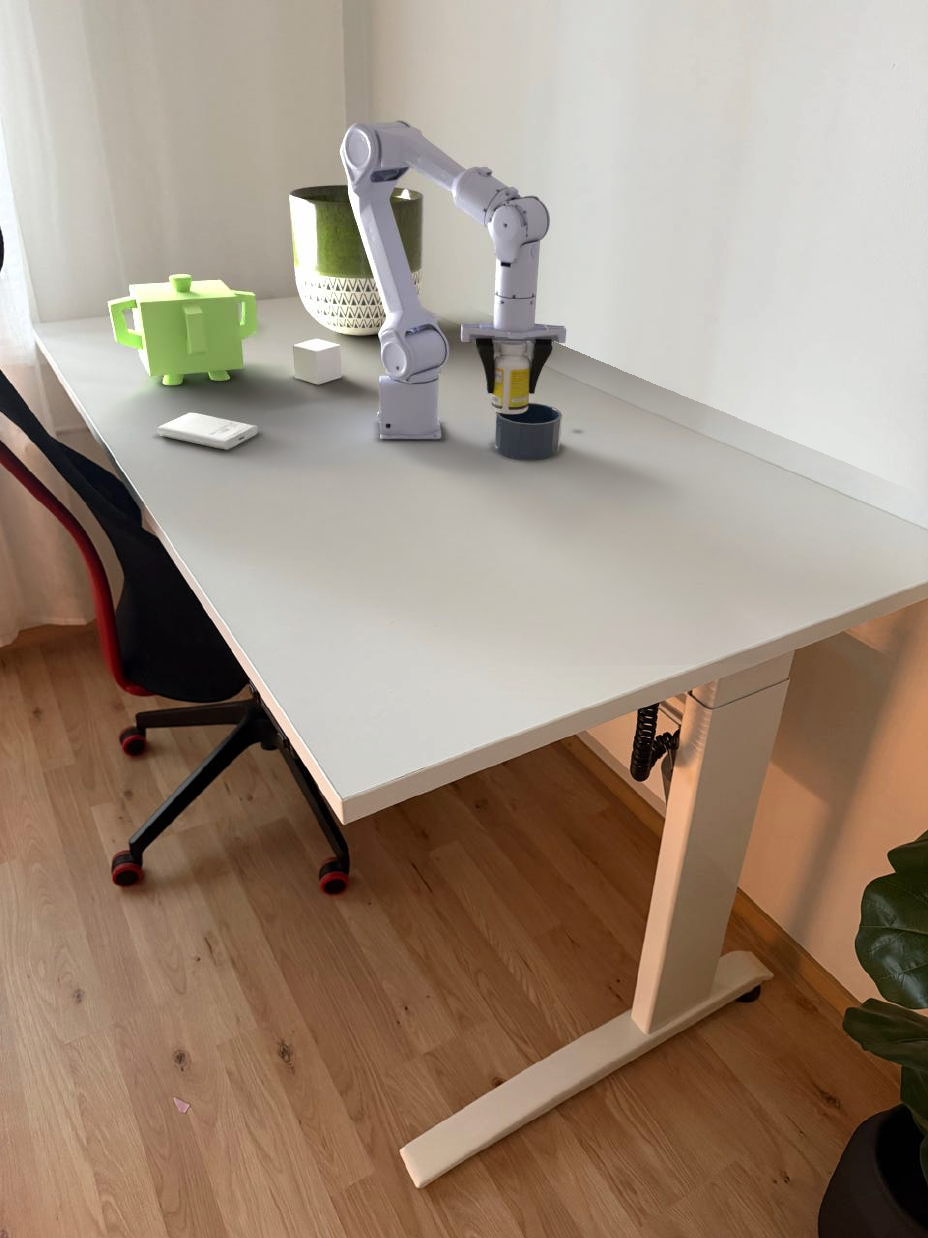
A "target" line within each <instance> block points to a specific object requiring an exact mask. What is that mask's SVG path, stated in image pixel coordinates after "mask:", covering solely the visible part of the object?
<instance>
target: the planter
mask: <svg viewBox="0 0 928 1238" xmlns="http://www.w3.org/2000/svg"><path fill="white" fill-rule="evenodd" d="M424 199H425V198H424V194H423V193H421V192H420V191H417V190H414V189H409V188H403V187H395V188H394V189H393V192H392V194H391V196H390V204H391V207H392V211H393V214H394V217H395V221H396V224H397V227H398V231H399V234H400V237H401V241H402V244H403V247H404V251H405V254H406V257H407V261H408V264H409V267H410V271H411V274H412V277H413V281H414V284H415V287H416V291H417V294H418V297H420V294H421V289H422V281H423V262H424V217H425V210H424V208H425V207H424V205H425V202H424V201H425V200H424ZM288 201H289V202H288V203H289V217H290V226H291V240H292V242H291V243H292V253H293V264H294V265H293V266H294V276H295V283H296V287H297V291H298V294H299V297H300V299H301V302H302V304H303V306H304V308H305V309H306V311H307V312H308V313H309V314H310V316H311V317H312V318H314V319H315V320H316V321H317V322H318V323H320V325H322V326H324V327H326V328H327V329H329V330H331V331H333V332H337V333H339V334H343V335H349V336H374V335H378V334H379V331H380V330H381V328H382V326H383V324H384V322H385V321H386V318H387V317H386V314H385V310H384V307H383V304H382V301H381V298H380V294H379V291H378V288H377V285H376V282H375V278H374V275H373V272H372V269H371V265H370V262H369V259H368V256H367V253H366V249H365V246H364V243H363V240H362V237H361V233H360V230H359V227H358V224H357V220H356V217H355V214H354V211H353V208H352V204H351V201H350V197H349V187H348V184H332V185H331V184H330V185H329V184H328V185H327V184H326V185H316V186H315V185H313V186H306V187H301V188H296V189H292V190H291V191H290V192H289V193H288Z"/></svg>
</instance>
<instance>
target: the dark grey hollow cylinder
mask: <svg viewBox="0 0 928 1238" xmlns="http://www.w3.org/2000/svg"><path fill="white" fill-rule="evenodd" d="M562 424H563V414H562V412H561V410H559V409H557V408H555V406H554V407H553V406H551V405H549V404H544V403H543V404H542V403H537V402H529V404H528V409H527V410H526V411H525V412H523V413H520V414H503V413H499V412H496V411H494V430H493V431H494V433H493V435H494V436H493V448H494V450H495V451H496V452H498V453H499V454H501V455H503V456H506V457H508V458H512V459H518V460H526V461H527V460H529V461H530V460H531V461H532V460H533V461H534V460H542V459H543V460H544V459H547V458H551V457H554V456H555V455H557V454H558V453H559V451H560V446H561V435H562Z"/></svg>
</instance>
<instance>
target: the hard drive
mask: <svg viewBox="0 0 928 1238" xmlns="http://www.w3.org/2000/svg"><path fill="white" fill-rule="evenodd" d="M257 434H258V426H257V425H253V424H248V423H244V422H239V421H234V420H230V419H225V418H220V417H215V416H210V415H206V414H202V413H196V412H188V413H186V414H184V415H182V416H180V417H177V418H175V419H173V420H171V421H169V422H166V423H164V424H162V425H160V426H159V427H158V435H159V436H161V437H165V438H169V439H174V440H179V441H183V442H186V443H187V442H188V443H192V444H197V445H201V446H205V447H211V448H214V449H220V450H226V451H228V450H230V449H232V448H234V447H236V446H238V445H240V444H241V443H243V442H245V441H247V440H249V439H251V438H253V437H255V436H256V435H257Z"/></svg>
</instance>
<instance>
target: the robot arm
mask: <svg viewBox="0 0 928 1238" xmlns="http://www.w3.org/2000/svg"><path fill="white" fill-rule="evenodd" d="M339 153H340V156H341V160H342V164H343V167H344V169H345V173H346V176H347V185H348V187H349V197H350V201H351V204H352V208H353V211H354V214H355V217H356V220H357V224H358V227H359V230H360V233H361V237H362V240H363V243H364V246H365V249H366V253H367V256H368V259H369V262H370V265H371V269H372V272H373V275H374V278H375V282H376V285H377V288H378V291H379V294H380V298H381V301H382V304H383V307H384V310H385V314H386V317H387V318H386V321H385V322H384V324H383V326H382V328H381V330H380V331H379V334H377V336H378V339H379V343H380V359H381V365H382V367H383V368H384V370H385V372H386V373H387V374H388V375H380V376H379V411H377V423H378V424H379V428H380V429H379V432H380V436H379V437H380V438H379V439H381V440H441V439H442V431H441V424H440V420H439V375H440V374H442V366H444V365H445V364H446V363H447V361H448V359H449V355H450V346H449V341H448V339H447V337H446V336H445V334H444V333H443V331H442V330H441V329H440V326H439V324H438V321H437V318H436V317H435V315H433V314H432V313H431V312H429V311H428V310H426V309H425V308H423V306H422V305H421V300H420V298H419V297H420V296H419V297H418V294H417V291H416V287H415V284H414V281H413V277H412V274H411V271H410V267H409V264H408V261H407V257H406V254H405V251H404V247H403V244H402V241H401V237H400V234H399V231H398V227H397V224H396V221H395V217H394V214H393V211H392V207H391V204H390V196H391V194H392V192H393V189H394V188H395V187H396V186H397V185H398V184H399V183H400V182H401V180H402V179H403V178H404V177H405V175H406V174H407V173H408V171H410V169H412V170H414V171H416V172H417V173H419V174H420V175H422V176H423V177H425V178H427V179H428V180H430V181H431V182H434V183H435V184H437V185H438V186H440V187H442V188H443V189H445V190H447V191H449V192H450V193H452V198H453V204H454V205H455V207H456V208H457V209H459V210H460V211H462V212H463V213H465V214H466V215H468V216H469V217H471V218H472V219H473V220H475V221H476V222H478V223H479V224H480V225H482V226H483V227H485V228H486V229H488V232H489V235H490V238H491V240H492V242H493V245H494V256H495V282H494V283H495V284H494V301H493V302H494V305H493V322H483V323H473V324H472V323H469V324H468V323H467V324H466V323H465V324H463V323H462V324H461V327H460V328H461V329H460V338H461V339H460V340H461V342H462V343H469V342H471V341H474V344H475V347H476V350H477V353H478V355H479V358H480V360H481V363H482V366H483V371H484V374H485V380H486V381H485V382H486V391H487V394H492V393H493V363H494V358H495V346H494V342H499V341H527V342H530V361H531V371H530V388H529V395H534V394H535V393H536V387H537V384H538V381H539V378H540V375H541V373H542V371H543V369H544V367H545V365H546V363H547V361H548V359H549V358H550V356H551V354H552V352H553V343H554V342H556V343H558V344H566V338H567V328H566V326H565V325H556V324H555V325H554V324H545V323H536V308H537V295H538V294H537V293H538V279H539V265H540V252H541V251H540V249H541V248H540V247H541V241H542V240H543V239H544V238H545V237H546V236H547V234H548V231H549V229H550V226H551V219H550V218H551V217H550V212H549V209H548V208H547V206H546V205H545V203H544V202H543V201H542V200H541V199H540V198H539V197H538V196H536V195H526V196H521V195H520V194H519V192H520V191H519V189H517V188H516V187H515V186H508V185H506V184H505V183H504V182H502V181H500V180H499V179H497V178H496V177H494V176H493V170H492V169H490V168H489V167H488V166H480V167H479V166H472V167H470V168H468V169H466V168H465V167H463V166H462V164H459V162H457V161H456V160H455V159H453V158H452V157H450V156H449V155H448V154H447V153H445V152H444V151H443V150H442V149H440V148H439V146H436V144H434V143H433V142H432V141H430V140H429V139H428V138H427V137H425V136H424V135H423V132H422V130H421V129H419V128H417V127H415V126H413V125H411V124H410V123H409V122H408V121H405V120H403V119H402V120H401V119H400V120H399V119H398V120H393V121H385V122H384V121H383V122H367V123H366V122H355V123H353V124H351V125H350V126H349V127H348V129H347V131H346V132H345V135H344V138H343V140H342V144H341V146H340V149H339ZM396 188H397V187H396ZM407 331H408V332H409V331H410V332H409V333H406V332H407Z"/></svg>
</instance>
